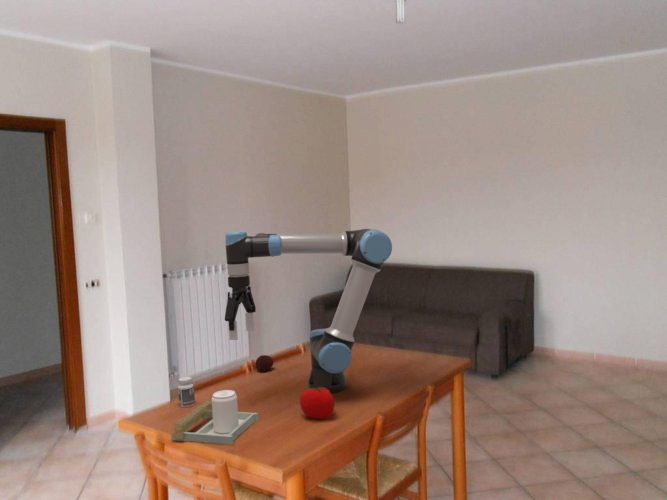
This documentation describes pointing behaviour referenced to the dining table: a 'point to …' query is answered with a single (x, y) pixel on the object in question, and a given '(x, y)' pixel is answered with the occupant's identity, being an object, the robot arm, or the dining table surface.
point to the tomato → (317, 403)
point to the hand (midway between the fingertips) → (242, 335)
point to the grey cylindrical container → (225, 411)
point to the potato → (264, 363)
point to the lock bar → (191, 419)
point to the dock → (211, 436)
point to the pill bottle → (186, 392)
